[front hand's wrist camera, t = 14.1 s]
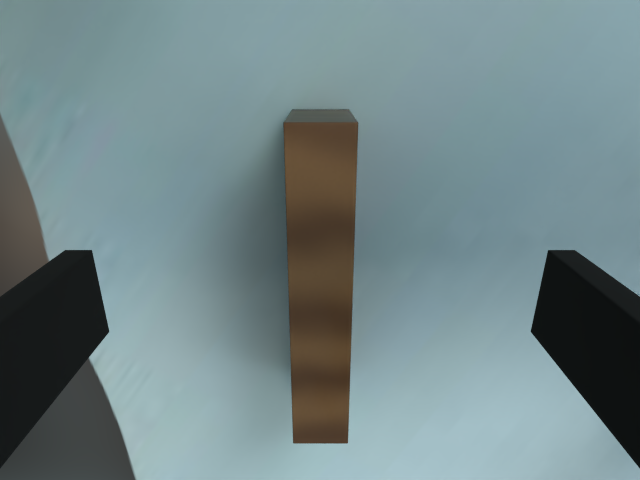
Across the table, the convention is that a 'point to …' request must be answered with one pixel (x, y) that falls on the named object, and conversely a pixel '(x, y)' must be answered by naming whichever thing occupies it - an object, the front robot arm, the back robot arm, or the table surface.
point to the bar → (320, 268)
